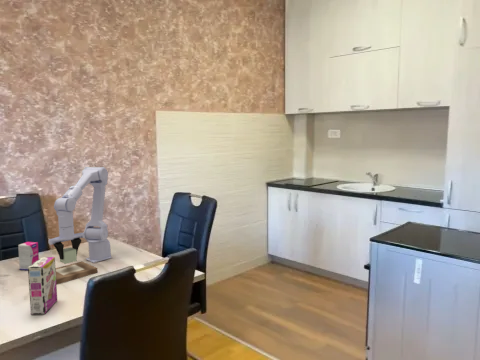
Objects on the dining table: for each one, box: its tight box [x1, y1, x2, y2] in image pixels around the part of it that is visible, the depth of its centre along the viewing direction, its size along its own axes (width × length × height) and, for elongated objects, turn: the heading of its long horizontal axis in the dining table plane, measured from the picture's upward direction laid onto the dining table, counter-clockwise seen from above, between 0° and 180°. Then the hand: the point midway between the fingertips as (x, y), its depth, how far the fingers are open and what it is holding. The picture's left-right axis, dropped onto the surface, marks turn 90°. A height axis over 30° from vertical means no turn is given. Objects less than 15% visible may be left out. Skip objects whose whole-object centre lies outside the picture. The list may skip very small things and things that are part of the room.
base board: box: [55, 261, 99, 286], centre depth 167 cm, size 18×14×2 cm
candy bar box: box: [27, 256, 58, 316], centre depth 134 cm, size 11×5×16 cm, turn 5°
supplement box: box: [17, 241, 40, 272], centre depth 175 cm, size 6×6×12 cm
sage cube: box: [59, 246, 78, 265], centre depth 166 cm, size 5×5×5 cm
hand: (68, 257), depth 166 cm, fingers closed on sage cube, 5 cm apart
